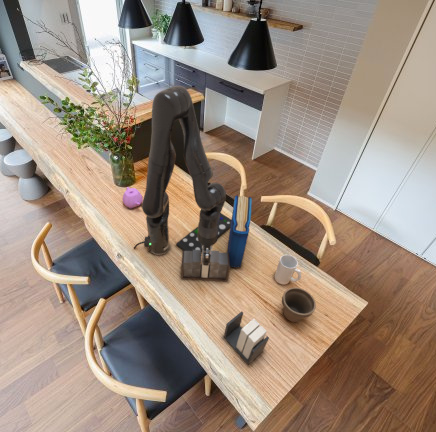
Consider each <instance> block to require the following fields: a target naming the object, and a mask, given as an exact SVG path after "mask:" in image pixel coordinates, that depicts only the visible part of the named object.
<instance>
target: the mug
mask: <svg viewBox="0 0 436 432" xmlns="http://www.w3.org/2000/svg"><path fill="white" fill-rule="evenodd" d="M298 264H299V262H298V260H297V258H296V257H295V256H293V255H291V254H283V255H281V256H280V258H279V261H278V263H277V267H276V271H275V273H274V280H275V281H276V282H277V283H278V284H279V285H288V284H289V283H290V282H292V284H296V283H297V282H299V281H300V280H301V279H302V270H301V269H299V268H297V267H298ZM294 273H296V274H297V277H296V278H294V277H293V275H294Z"/></svg>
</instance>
